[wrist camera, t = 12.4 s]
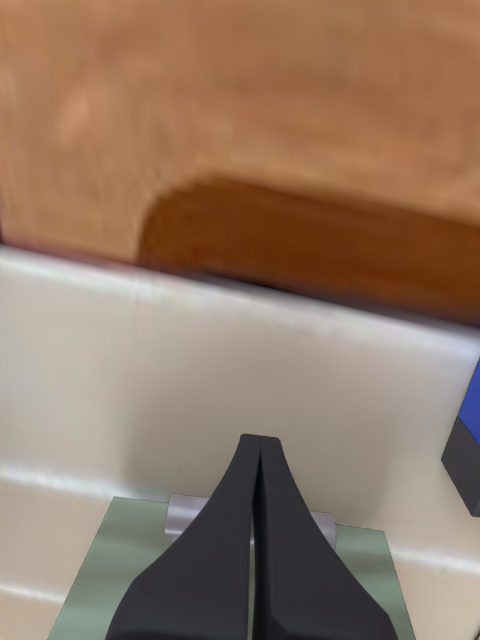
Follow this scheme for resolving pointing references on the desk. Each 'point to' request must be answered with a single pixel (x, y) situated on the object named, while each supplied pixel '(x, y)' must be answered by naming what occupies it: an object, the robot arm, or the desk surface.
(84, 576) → the drawer
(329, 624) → the robot arm
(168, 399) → the desk surface
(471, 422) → the eraser
